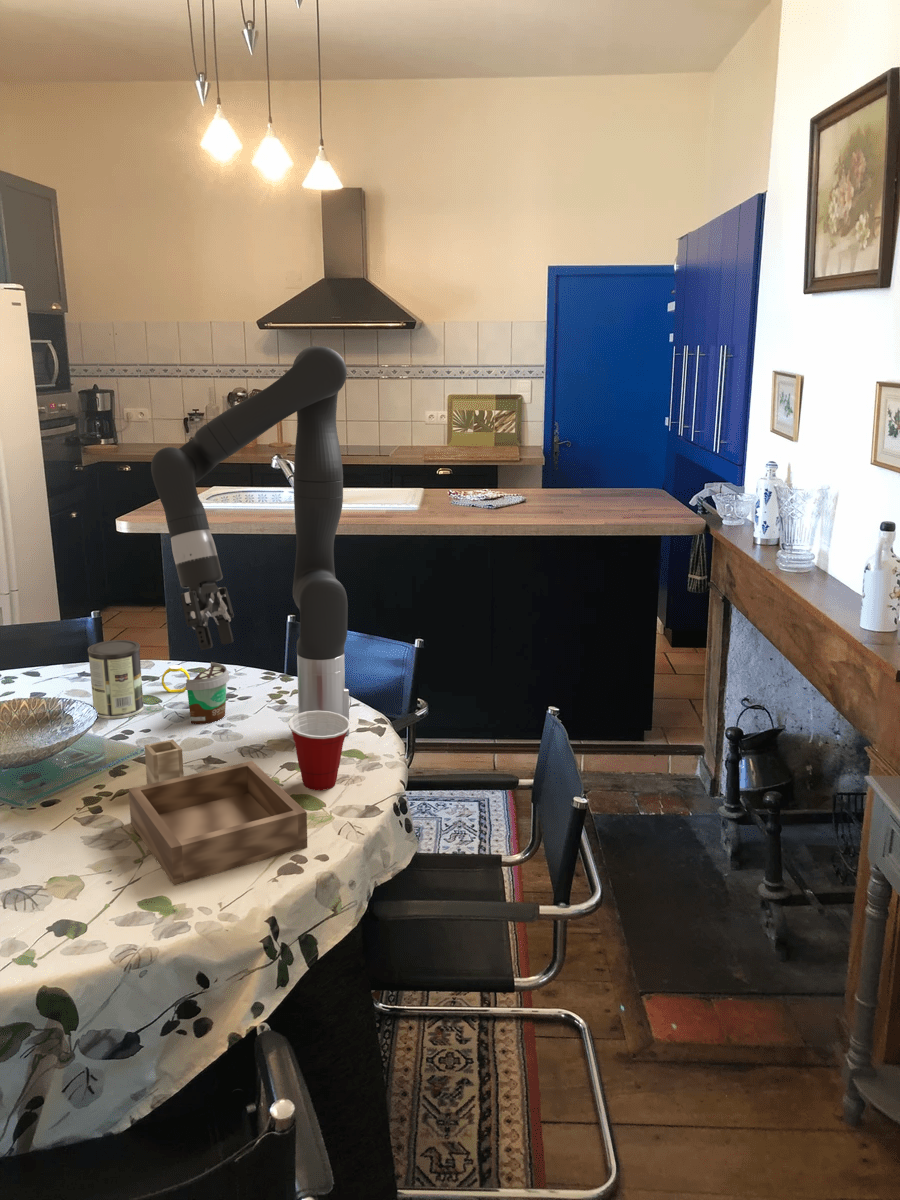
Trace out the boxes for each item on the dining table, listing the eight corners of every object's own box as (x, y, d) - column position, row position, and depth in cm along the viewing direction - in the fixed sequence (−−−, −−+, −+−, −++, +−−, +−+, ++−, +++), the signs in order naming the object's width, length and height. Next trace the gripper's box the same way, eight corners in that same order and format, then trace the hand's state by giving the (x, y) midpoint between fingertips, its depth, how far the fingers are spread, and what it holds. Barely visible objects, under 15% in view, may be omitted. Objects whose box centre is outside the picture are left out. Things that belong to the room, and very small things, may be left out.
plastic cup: (325, 803, 163) (324, 738, 159) (277, 787, 168) (275, 724, 165) (363, 780, 171) (363, 718, 168) (316, 766, 177) (315, 705, 174)
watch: (189, 690, 215) (190, 665, 214) (189, 694, 213) (189, 669, 211) (162, 689, 214) (162, 664, 213) (161, 693, 212) (161, 668, 210)
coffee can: (122, 698, 209) (117, 636, 205) (154, 708, 204) (150, 645, 200) (82, 712, 200) (76, 648, 197) (114, 723, 195) (109, 657, 192)
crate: (253, 792, 166) (252, 760, 164) (307, 847, 148) (306, 812, 147) (130, 822, 155) (128, 788, 153) (173, 885, 137) (171, 848, 136)
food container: (215, 729, 193) (213, 682, 190) (187, 726, 194) (185, 680, 191) (240, 707, 205) (238, 663, 202) (213, 705, 206) (211, 661, 203)
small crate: (175, 781, 170) (173, 739, 168) (184, 791, 166) (182, 749, 164) (147, 787, 167) (144, 745, 165) (155, 798, 163) (153, 755, 161)
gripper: (196, 554, 164) (219, 646, 164) (232, 552, 177) (252, 637, 178) (158, 564, 165) (180, 655, 165) (195, 562, 179) (216, 646, 179)
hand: (217, 646), depth 172 cm, fingers open, 8 cm apart
